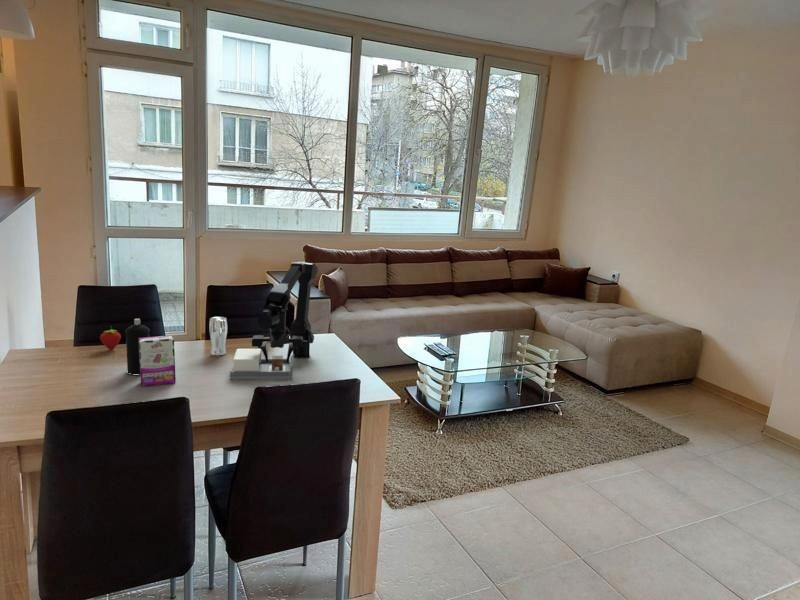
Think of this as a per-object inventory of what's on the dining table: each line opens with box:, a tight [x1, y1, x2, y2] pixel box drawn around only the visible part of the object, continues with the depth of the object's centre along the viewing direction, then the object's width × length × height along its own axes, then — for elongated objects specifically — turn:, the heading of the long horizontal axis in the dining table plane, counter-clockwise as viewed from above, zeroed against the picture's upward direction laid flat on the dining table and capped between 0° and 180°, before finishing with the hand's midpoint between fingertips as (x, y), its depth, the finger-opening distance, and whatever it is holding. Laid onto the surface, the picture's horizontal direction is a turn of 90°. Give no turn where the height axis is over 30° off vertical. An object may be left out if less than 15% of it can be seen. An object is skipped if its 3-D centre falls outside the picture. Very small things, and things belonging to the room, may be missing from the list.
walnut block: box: [271, 355, 284, 370], centre depth 204 cm, size 4×4×4 cm
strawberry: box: [99, 326, 122, 351], centre depth 215 cm, size 6×8×10 cm
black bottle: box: [124, 318, 151, 374], centre depth 194 cm, size 8×8×20 cm
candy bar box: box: [139, 334, 177, 387], centre depth 185 cm, size 11×5×16 cm, turn 117°
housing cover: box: [232, 348, 262, 371], centre depth 202 cm, size 9×13×6 cm
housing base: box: [229, 356, 293, 380], centre depth 204 cm, size 22×16×3 cm
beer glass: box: [208, 316, 228, 357], centre depth 219 cm, size 7×7×15 cm
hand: (277, 362), depth 204 cm, fingers open, 7 cm apart
